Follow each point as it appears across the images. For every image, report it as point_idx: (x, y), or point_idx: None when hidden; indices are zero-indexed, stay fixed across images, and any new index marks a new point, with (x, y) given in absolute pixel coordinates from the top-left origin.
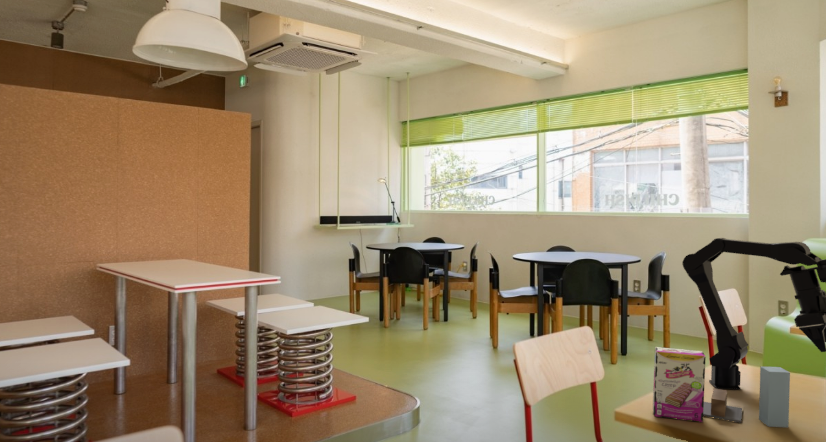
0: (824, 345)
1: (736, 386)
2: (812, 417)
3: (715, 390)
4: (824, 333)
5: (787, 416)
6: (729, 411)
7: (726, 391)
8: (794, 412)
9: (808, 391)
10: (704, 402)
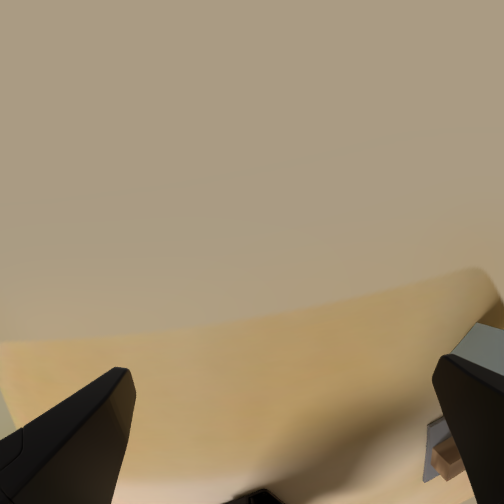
0: (490, 372)
1: (257, 498)
2: (386, 306)
3: (458, 472)
4: (94, 484)
5: (493, 328)
6: None
7: (456, 461)
8: (374, 351)
9: (115, 364)
10: (430, 473)
